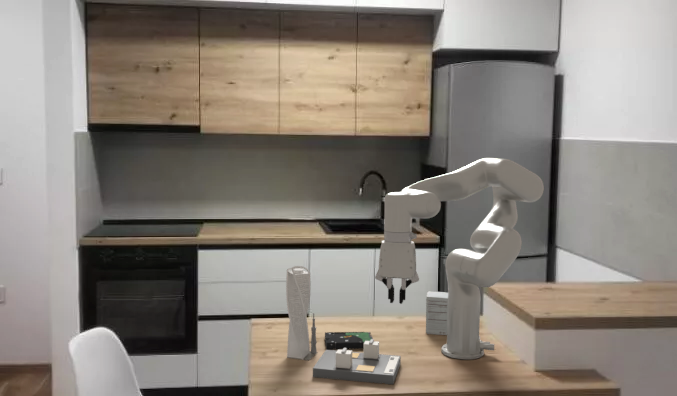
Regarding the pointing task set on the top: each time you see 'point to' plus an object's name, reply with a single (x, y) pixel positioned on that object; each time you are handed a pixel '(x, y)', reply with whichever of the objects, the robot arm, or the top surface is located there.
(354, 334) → the disk drive
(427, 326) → the supplement box
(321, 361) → the switch board
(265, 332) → the top surface
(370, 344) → the tab
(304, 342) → the skyscraper
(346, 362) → the front tab
